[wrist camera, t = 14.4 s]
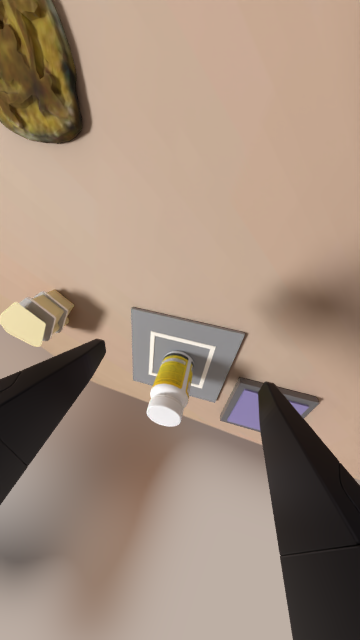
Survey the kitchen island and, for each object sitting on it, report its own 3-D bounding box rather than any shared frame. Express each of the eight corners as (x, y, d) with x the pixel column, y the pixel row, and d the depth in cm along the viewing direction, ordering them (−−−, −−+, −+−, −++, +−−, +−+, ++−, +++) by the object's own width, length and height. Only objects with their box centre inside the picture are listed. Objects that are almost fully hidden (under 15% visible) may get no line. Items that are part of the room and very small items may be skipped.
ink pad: (316, 396, 24) (320, 405, 23) (280, 432, 30) (283, 440, 29) (239, 377, 25) (240, 384, 24) (220, 415, 31) (220, 422, 30)
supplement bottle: (158, 356, 26) (134, 408, 19) (181, 345, 23) (164, 399, 16) (177, 376, 27) (161, 431, 20) (200, 367, 25) (193, 425, 18)
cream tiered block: (40, 262, 22) (-7, 274, 18) (95, 308, 24) (65, 329, 20) (24, 306, 27) (-16, 323, 23) (71, 341, 29) (43, 363, 25)
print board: (244, 332, 21) (245, 335, 20) (215, 400, 29) (214, 403, 28) (132, 307, 22) (130, 308, 22) (134, 378, 30) (132, 380, 30)
